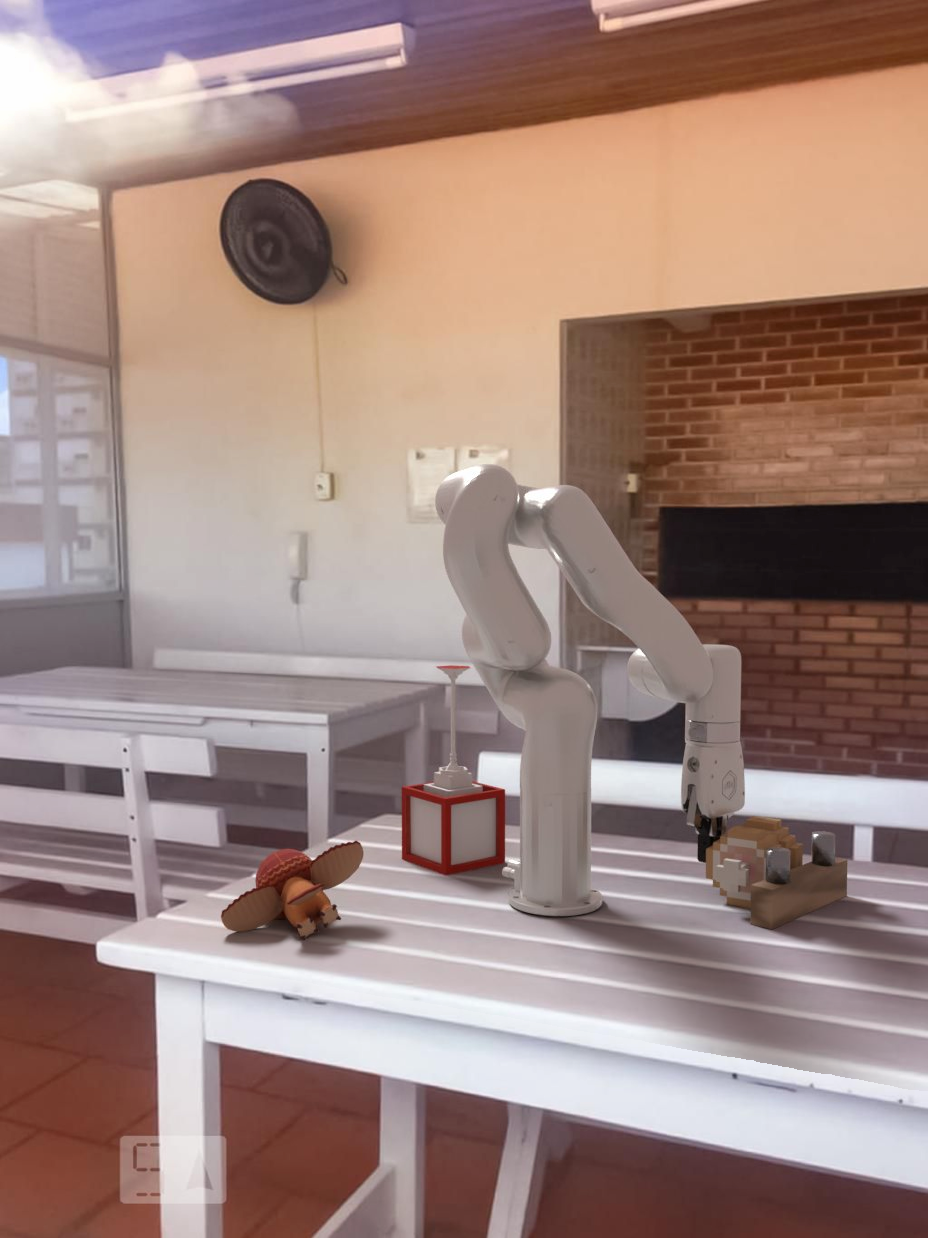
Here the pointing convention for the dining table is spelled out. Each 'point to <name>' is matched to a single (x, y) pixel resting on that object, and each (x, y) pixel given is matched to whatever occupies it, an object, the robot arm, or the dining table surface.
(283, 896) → the figurine
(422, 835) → the pendant light
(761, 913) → the rail
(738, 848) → the voxel meat on bone
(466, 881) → the dining table surface
